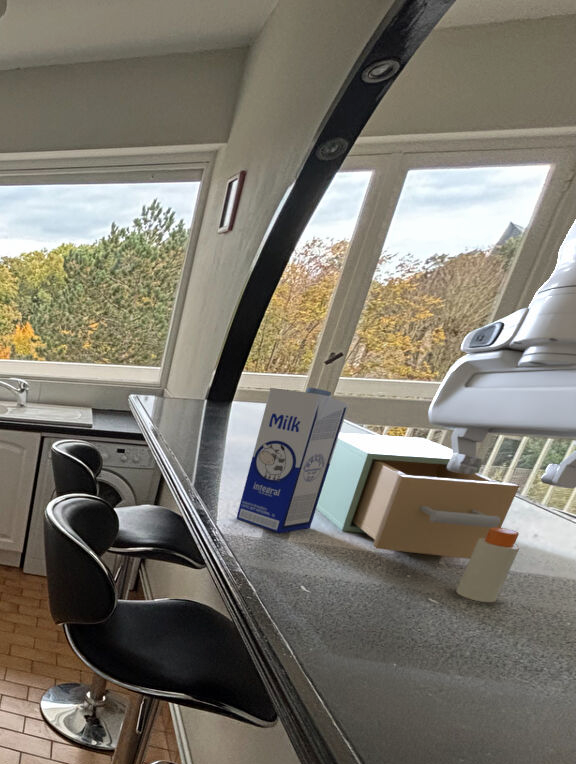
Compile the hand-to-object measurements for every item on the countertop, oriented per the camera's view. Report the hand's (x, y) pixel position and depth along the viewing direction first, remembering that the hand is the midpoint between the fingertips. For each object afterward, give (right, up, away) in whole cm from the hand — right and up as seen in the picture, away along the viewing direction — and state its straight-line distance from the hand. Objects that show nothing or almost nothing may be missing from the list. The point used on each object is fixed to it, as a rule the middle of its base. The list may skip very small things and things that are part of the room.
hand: (504, 478), depth 57 cm
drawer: (+13, -6, +23) cm, 27 cm away
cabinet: (+17, -3, +34) cm, 38 cm away
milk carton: (0, -4, +32) cm, 32 cm away
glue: (+7, -12, +10) cm, 17 cm away
